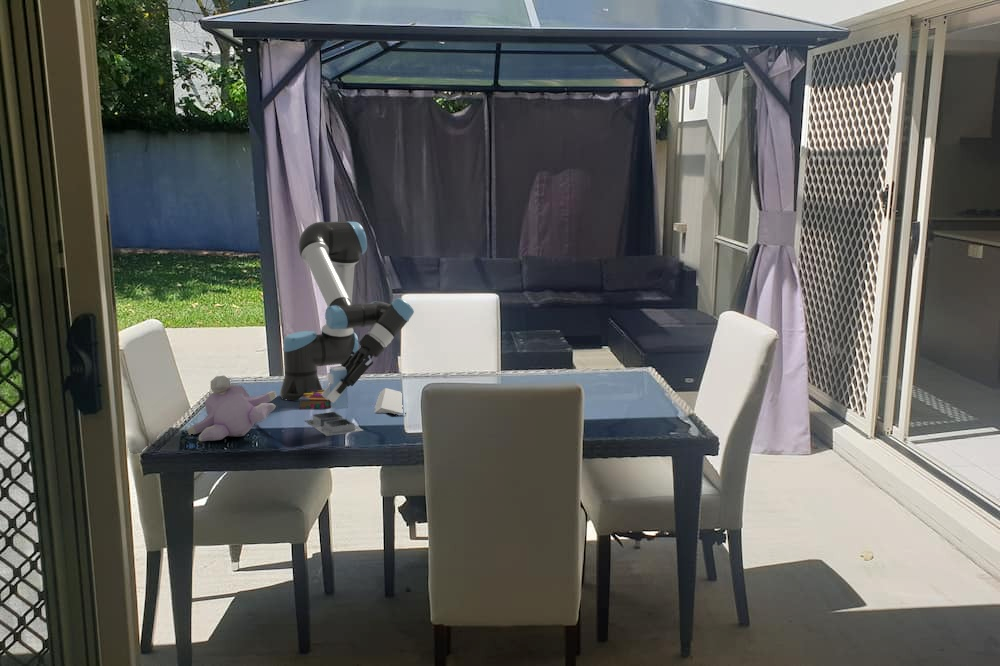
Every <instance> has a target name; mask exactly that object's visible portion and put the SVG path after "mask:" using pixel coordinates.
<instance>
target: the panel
mask: <svg viewBox="0 0 1000 666" xmlns="http://www.w3.org/2000/svg"><path fill="white" fill-rule="evenodd" d="M304 422H305V423H306V424H308V425H310V426H311V427H313V428H314V429H316V430H317V431H319V432H320V433H321V434H323V435H325V436H326V437H329V436H334V435H342V434H349V433H354V432H360V431H361V432H362V431H364V429H362V428H361V427H360V426H357V425H356V424H355V423H354V422H352V421H351V420H348V419H347V418H344V417H343V416H342V415H341V414H339V413H337V412H335V411H331V412H330V411H329V412H323V413H315V414H312V419H307V420H304Z"/></svg>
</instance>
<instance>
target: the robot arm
mask: <svg viewBox="0 0 1000 666" xmlns="http://www.w3.org/2000/svg"><path fill="white" fill-rule="evenodd" d="M367 241H368V240H367V234H366V232H365V230H364V227H363V226H362V225H361V224H360V223H359V222H357V221H348V220H346V221H343V220H342V221H317V222H316V221H315V222H313V223H311V224H310V225H308V226H307V227H306V228H305V229H304V230H303V232H301V235H300V238H299V240H298V253H299V255H300V258H301V259H302V261H303V263H305V264H307V265H308V267H309V269H310V272H311V274H312V276H313V279H314V280H315V282H316V284H317V287H318V290H319V292H320V293H321V296H322V298H323V300H324V302H325V305H326V306H327V307H326V309H325V313H324V316H325V325H323V326H322V328H321V332H320V333H321V334H317V332H316V331H313V330H303V331H297V332H293V333H290V334H288V335H286V336H285V337H284V339H283V348H282V350H283V362H284V363H283V365H284V366H283V367H284V368H283V369H284V378H283V381H282V384H281V388H280V392H279V393H280V396H281V397H280V399H282V398H283V399H282V400H284V399H287V400H286V401H290V400H299V398H300V397H302V396H303V394H304V393H307V391H308V390H309V389H320V390H324V392H323V393H322V394H321V395H322V396H323V397H324V398H325V399H327V400H330V401H331V402H332V403H334V402H335V401H336V400H337V399H338V397H339V396H340V395H341V394H342V393H343V391H344V390H345V389H346V388H347V389H348V387H353V386H354V385H355V384H356V383H357V382H358V380H359V379H360V378H361V377H362V376H363V374H365V372H366V371H368V369H369V368H370V367H371V366H372V365H373V364H374V361H373V360H372V359H373V357H374V358H378V357H379V356H381V354H383V351H384V350H385V348H387V346H388V345H390V344H391V343H392V341H393V340H394V338H395V337H396V336H397V334H398V333H400V331H401V330H402V329H403V327H404V326H405V325H406V324H407V323H408V322H409V320H410V319H411V318H412V316H413V315H414V313H415V310H414V308H413V307H412V306H411V305H410V303H408V302H407V301H406V300H404V299H403V298H400V297H396V298H395V299H394V300H393V301H391V303H387V302H383V301H378V300H377V301H375V300H374V301H372V302H370V303H367V302H366V303H355V304H354V303H353V292H354V291H353V290H354V277H355V266H356V264H358V263H359V262H360V256H362V255H364V254H365V253H366V251H367V249H368V242H367ZM367 327H368V328H369V327H370V328H369V329H368V330H367V334H365V335H363V336H362V338H361V339H360V340H359V337H358V335H357V334H356V332H354V331H355V330H354V328H355V329H356V328H357V329H358V328H367ZM359 346H360V347H359ZM336 365H337V366H338V365H340V366H343V367H345V368H346V370H347V375H346V376H345V378H344V379H341V381H342V382H343V383H342V382H341V381H340V382H339V383H338V384H337V386H336V387H335V388H334V389H333V390H332V392H331V393H330V383H328V386H327V387H326V388H325V389H323V386H322V384H321V381H320V378H319V375H318V367H325V366H336Z"/></svg>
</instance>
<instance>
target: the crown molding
mask: <svg viewBox="0 0 1000 666" xmlns="http://www.w3.org/2000/svg"><path fill="white" fill-rule="evenodd" d="M401 392H402V391H399V390H396V389H392V388H387V387H385V388H383V389H382V390H381V391H380V392H379V393H380V394H379V393H378V394H379V396H378V399H377V402H376V405H375V407H374V413H375V414H388V413H389V414H393V415H395V414H401V413H403V409H402V407H403V405H402V393H401Z"/></svg>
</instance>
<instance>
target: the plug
mask: <svg viewBox="0 0 1000 666" xmlns="http://www.w3.org/2000/svg"><path fill="white" fill-rule="evenodd" d="M346 375H347V370H346V368H345V367H343V366H341V365H337V366H336V365H334V366H330V368H329V372H327V378H328V379H327V380H328V381H327V382H328V384H330V393H331V392H332V390H333V389H334V388H335V387H336V386H337V384H338V383H339V382H340V381H341V379H344V378H345V376H346ZM341 382H342V381H341ZM342 383H343V382H342ZM348 396H349V395H348V387H347V388H346V389H345V390H344V391H343V393H342V394H341V395H340V396H339V397H338V399H337V400H336V401H335V402H334V403H332V402H331V409H334V410H343V409H348V407H349V406H348V405H349V401H348V398H349V397H348Z"/></svg>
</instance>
